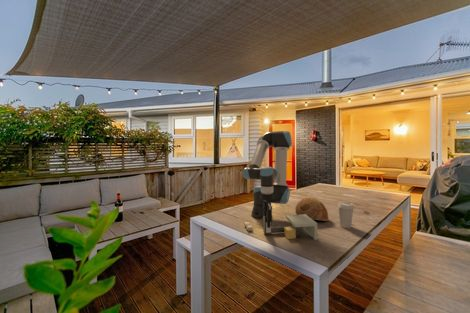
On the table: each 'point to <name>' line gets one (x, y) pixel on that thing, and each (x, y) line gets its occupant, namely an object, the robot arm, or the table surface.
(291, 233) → the cube
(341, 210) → the coffee cup
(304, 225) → the beige angled piece
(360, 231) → the table surface
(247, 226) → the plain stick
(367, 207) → the table surface
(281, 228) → the crook
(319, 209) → the seashell
